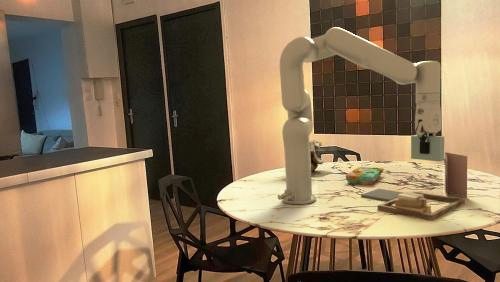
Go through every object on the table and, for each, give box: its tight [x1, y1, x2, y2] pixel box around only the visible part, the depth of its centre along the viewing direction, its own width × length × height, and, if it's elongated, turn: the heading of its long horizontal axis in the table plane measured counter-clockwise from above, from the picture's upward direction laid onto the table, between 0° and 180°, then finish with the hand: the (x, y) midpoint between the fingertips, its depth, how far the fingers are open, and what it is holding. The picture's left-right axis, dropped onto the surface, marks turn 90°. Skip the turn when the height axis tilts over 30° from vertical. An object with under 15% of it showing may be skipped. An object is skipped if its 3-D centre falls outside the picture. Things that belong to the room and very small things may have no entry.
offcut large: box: [390, 204, 432, 214], centre depth 134 cm, size 7×10×2 cm
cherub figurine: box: [309, 139, 333, 178], centre depth 202 cm, size 18×18×18 cm
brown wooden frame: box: [377, 191, 466, 221], centre depth 139 cm, size 24×18×2 cm
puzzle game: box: [345, 166, 384, 186], centre depth 184 cm, size 12×5×20 cm
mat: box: [360, 188, 405, 202], centre depth 155 cm, size 12×12×1 cm
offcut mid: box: [395, 198, 428, 209], centre depth 134 cm, size 6×8×2 cm
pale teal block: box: [410, 134, 445, 163], centre depth 140 cm, size 3×10×8 cm, turn 41°
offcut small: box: [398, 191, 424, 202], centre depth 134 cm, size 5×6×2 cm
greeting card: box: [443, 151, 468, 199], centre depth 150 cm, size 11×7×15 cm, turn 159°
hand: (427, 152), depth 140 cm, fingers closed on pale teal block, 3 cm apart
